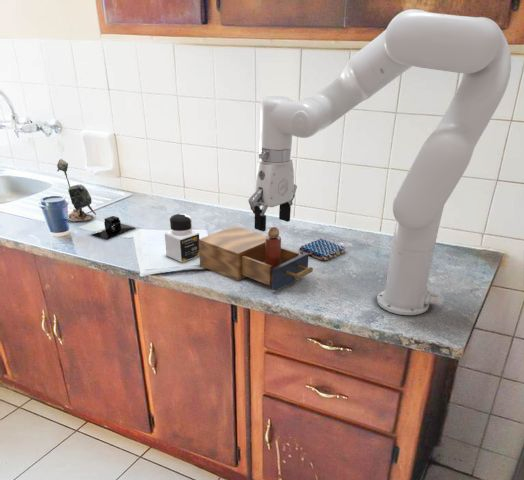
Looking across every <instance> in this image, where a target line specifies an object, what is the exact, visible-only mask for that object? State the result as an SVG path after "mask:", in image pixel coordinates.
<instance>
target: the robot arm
mask: <svg viewBox="0 0 524 480" xmlns="http://www.w3.org/2000/svg"><path fill="white" fill-rule="evenodd" d="M509 45H510V44H509V43H508V41H507V38H506V36H505V34H504V32H503V30H502V29H501V27H500V26H499V25H498V23H497V22H496V21H494V20H493V19H491V18H489V17H485V16H478V17H477V16H467V15H455V14H445V13H438V12H429V11H425V10H422V9H417V8H416V9H415V8H411V9H405V10H403V11H401V12H399V13H398V14H397V15H395V16H394V17H393V18H392V19H391V21H390V22H389V23H388V25H387V26H386V29H385V30H383V31H382V32H381V33H380V34H379V35H377V36H376V37H374V39H373V40H371V41H370V42H369V43H368V44H366V45H365V46H363V47H362V48H361V49H359V51H357V52H356V53H354V54H353V55H352V56H351V57H350V58H349V59H348V61H347V62H346V64H345V67H344V69H343V70H342V71H341V72H340V73H339V74H338V75H337V76H335V78H334V79H333V80H331V81H329V83H328V84H327V85H325V86H324V87H323V88H321V89H320V90H319V91H317V92H316V93H315V94H313V95H311V96H310V97H307V98H304V99H301V100H295V101H293V99H291V98H290V97H289V96H288V97H287V96H281V95H270V96H265V97H262V99H261V101H260V108H259V110H260V111H259V112H260V113H259V153H258V163H257V169H256V174H255V175H256V176H255V187H254V188H255V190H254V193H253V194H252V195H250V197H249V198H248V204H249V206H250V210H251V211H252V213H253V214H254V229H255V230H257V231H259V232H266V231H267V215H266V212H267V210H268V208H274V207H277V206H279V209H278V219H279V220H281V221H284V222H287V223H288V222H290V221H291V212H292V211H291V209H292V205H293V200H294V198H295V196H296V192H297V189H298V185H297V184H295V171H294V170H295V169H294V163H293V159H292V148H293V147H292V146H293V136H294V137H297V138H301V139H307V138H311V137H313V136H315V135H316V134H318V133H319V132H322V131H324V130H325V129H326V128H328V127H330V126H331V125H332V124H334V123H335V122H336V121H338V120H339V119H340V118H342V117H343V116H344V115H346V114H347V113H348V112H350V111H351V110H353V109H354V108H355V107H357V106H358V105H360V104H361V103H362V102H364V101H367V100H368V99H370V98H371V97H372V96H374V95H375V94H376V93H378V92H379V91H381V90H382V89H383V88H385V87H386V86H387V85H388V84H390V83H392V81H394V80H395V79H397V78H398V77H399V76H401V75H402V74H404V73H405V72H407V71H408V70H409V69H411V68H412V67H415V68H421V69H429V70H435V71H443V72H449V73H455V74H456V73H457V74H462V77H461V78H462V79H461V81H460V83H459V86H458V87H457V90H456V91H455V93H454V95H453V96H452V98H451V101H450V102H449V105H448V107H447V108H446V110H445V112H444V113H443V116H442V118H441V119H440V121H439V123H438V124H437V126H436V127H435V129H434V130H433V131H432V132H431V133H430V135H429V136H428V137H427V138H426V140H425V141H424V143H423V144H422V146H421V148H420V149H419V151H418V152H417V155H416V156H415V158H414V160H413V162H412V164H411V166H410V168H409V169H408V172H407V174H406V176H405V177H404V179H403V181H402V183H401V184H400V187H399V188H398V190H397V192H396V194H395V195H394V198H393V202H392V214H393V217H394V219H395V225H394V230H393V238H392V243H391V249H390V256H389V261H388V268H387V273H386V274H387V275H386V281H385V286H384V290H381V291H380V292H379V293H378V294H377V297H376V303H377V304H378V306H379V307H380V308H381V309H383V310H385V311H387V312H389V313H392V314H396V315H400V316H401V315H402V316H416V315H421V314H423V313H426V312H427V311H428V310H429V308H430V304H431V305H435V306H440V307H442V306H443V304H444V299H445V298H444V297H440V293H437V292H430V291H429V290H428V289H429V285H428V280H429V276H430V271H431V266H432V261H433V257H434V252H435V248H436V243H437V238H438V233H439V230H440V225H441V220H442V217H443V212H444V208H445V204H446V203H447V202H448V200H449V199H450V196H451V195H452V194H453V192H454V190H455V189H456V187H457V185H458V183H459V182H460V180H461V179H462V177H463V176H464V173H465V171H466V170H467V169H468V166H469V164H470V162H471V159H472V157H473V154H474V150H475V148H476V146H477V144H478V142H479V140H480V139H481V136H483V133H484V132H485V130H486V129H487V127H488V125H489V123H490V122H491V120H492V117H493V116H494V114H495V113H496V111H497V109H498V107H499V105H500V104H501V101H502V99H503V97H504V95H505V93H506V90H507V88H508V84H509V81H510V77H511V72H512V71H511V69H512V54H511V49H510V46H509Z"/></svg>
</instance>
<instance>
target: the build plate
mask: <svg viewBox="0 0 524 480" xmlns="http://www.w3.org/2000/svg"><path fill="white" fill-rule="evenodd" d="M103 224H104V229H102V230H99V231H96V232H93V233H91V236H93V237H95V238H99V239H102V240H106V241H108V240H110V239H113V238H115V237H118V236H120V235H123V234H126V233H128V232H131V231H133V230H136V227H134V226H131V225H127V224H123V223H121V219H120V217H118V216H115V215H112V216H108V217H106V218H104V222H103Z"/></svg>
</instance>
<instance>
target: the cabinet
mask: <svg viewBox="0 0 524 480" xmlns="http://www.w3.org/2000/svg"><path fill="white" fill-rule="evenodd" d="M266 236H267V235H266V234H263V233H259V232H257V231H254V230H250V229H248V228H245V227H241V226H237V225H233V226H231V227H228V228H225V229H222V230H219V231H217V232H215V233H212V234H210V235H207V236H203V237H201V238H199V256H198V257H199V267H201V268H205V269H207V270H210V271H212V272H215V273H218V274H219V275H222V276H224V277H227V278H230V279H231V280H232V279H233V280H235V281H238V282H241V281H242V280H244V279H246V278H247V277H246V276H244V275H241V261H240V256H241V255H244V254H246V253H248V252H251V251H253V250H255V249H258V248H260V247H262V246H265V245H266Z"/></svg>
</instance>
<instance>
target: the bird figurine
mask: <svg viewBox="0 0 524 480" xmlns="http://www.w3.org/2000/svg"><path fill="white" fill-rule="evenodd" d="M56 167H57V170H56V172H57V173H58V172H60V171H61V172H64V175H65V178H66V181H67V184H68V185H67V186H68V189H67V190H68V195H69V199H70V201H71V204H72V206H73V210H72V211H71V212H70V213H68V214H67V215H68V217H69V218H68V220H67V221H69V222H70V221H71V222H82V221H90V220H92V219H93V218H94V216H93V214H94V215H96V216H97V213H96V212H95V211H94V210H93V208H92V207H91V204H92V197H91V194H90V193H89V190H88V189H87V187H85V185H83V184H80V183H79V184H75V185H72V186H71V185H70V181H69V179H68V174H67V171H68V167H69V163H68V162H67V161H66V160H64V159H61V158H60V159H59V160H58V162H57V164H56ZM84 208H88V209H89V210H90V212H92V213H93V214H89V213H86V212H85V211H84V210H83V209H84Z"/></svg>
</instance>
